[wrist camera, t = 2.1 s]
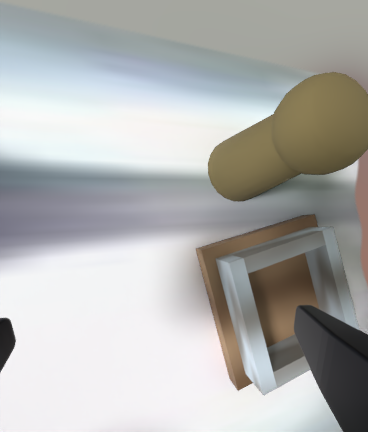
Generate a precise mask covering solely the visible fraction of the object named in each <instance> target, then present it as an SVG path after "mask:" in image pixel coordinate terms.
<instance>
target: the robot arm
mask: <svg viewBox="0 0 368 432" xmlns="http://www.w3.org/2000/svg"><path fill="white" fill-rule="evenodd" d="M294 332H295V335H296V338H297V340H298V342H299V344H300V347H301V349H302V351H303V353H304V356H305V358H306V360H307V362H308V365H309V367H310V369H311V371H312V374H313V376H314V378H315V380H316V382H317V384H318V386H319V388H320V390H321V392H322V394H323V396H324V398H325V400H326V402H327V403H328V405H329V407H330V409H331V411H332V412H333V414H334V416H335V418H336V420H337V421H338V423H339V425H340V427H341V429H342V430H343V432H368V335H367V334H365V333H363V332H362V331H360V330H358V329H356V328H354V327H352V326H350V325H348V324H346V323H344V322H343V321H341V320H339V319H337V318H335V317H333V316H331V315H329V314H327V313H325V312H324V311H322V310H320V309H318V308H316V307H314V306H312V305H299V306H297V308H296V312H295V320H294ZM15 342H16V339H15V335H14V331H13V328H12V324H11V321H10V320H9V319H8V318H0V372H1V370H2V369H3V367H4V365H5V363H6V361H7V360H8V358H9V356H10V354H11V352H12V351H13V349H14V346H15Z"/></svg>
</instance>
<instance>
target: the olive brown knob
mask: <svg viewBox="0 0 368 432" xmlns="http://www.w3.org/2000/svg"><path fill="white" fill-rule="evenodd" d="M367 149H368V94H367V92H366V91H365V90H364V89H363V88H362V87H361V86H360V85H359V84H358V82H357V81H356V80H354V79H352V78H351V77H349V76H347V75H346V74H341V73H336V72H332V73H323V74H318V75H314V76H312V77H310V78H307V79H305V80H304V81H302V82H301V83H299V84H298V85H297V86H295V87H294V88H293V89H292V90H290V91H289V92H288V93H287V94H286V95H285V97H284V98H283V100H282V101H281V102H280V104H279V106H278V107H277V109H276V110H275V112H274V114H273V115H271V116H269V117H267V118H266V119H264V120H262V121H260V122H258V123H256V124H255V125H253V126H251V127H249V128H247V129H245V130H243V131H242V132H240V133H238V134H236V135H234V136H232V137H231V138H229V139H227V140H225V141H223V142H222V143H220V144H219V145H218V146H216V147H215V149H214V150H213V152H212V153H211V155H210V159H209V162H208V174H209V177H210V180H211V183H212V185H213V186H214V188H215V189H216V191H217V192H218V193H219V194H221V195H222V196H223V197H225V198H227V199H229V200H232V201H245V200H248V199H251V198H253V197H255V196H257V195H259V194H261V193H263V192H265V191H267V190H269V189H271V188H273V187H275V186H277V185H279V184H281V183H283V182H285V181H287V180H289V179H291V178H293V177H295V176H297V175H299V174H301V173H302V174H312V175H325V174H329V173H333V172H336V171H338V170H341V169H344V168H346V167H348V166H349V165H351V164H353V163H354V162H355V161H356V160H357V159H359V158H360V157H361V156H362V155H363V154H364V152H365V151H366V150H367Z"/></svg>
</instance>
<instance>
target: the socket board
mask: <svg viewBox="0 0 368 432" xmlns="http://www.w3.org/2000/svg"><path fill="white" fill-rule="evenodd" d="M196 251H197V255H198V259H199V263H200V267H201V271H202V274H203V278H204V282H205V286H206V290H207V294H208V297H209V301H210V305H211V309H212V313H213V316H214V320H215V324H216V328H217V332H218V336H219V339H220V343H221V347H222V351H223V355H224V358H225V362H226V366H227V370H228V374H229V378H230V380H231V381H232V383H233V384H234V385H235V387H236V388H237V390H240V389H242V388H244V387H246V386H248V385H250V384H252V383H254V385H255V386H256V387H257V388H258V389H259V391H260V392H261V393H262V394H263V395H266V394H267V393H269V392H271V391H273V390H275V389H276V388H278V387H280V386H282V385H284V384H285V383H287V382H289V381H291V380H293V379H294V378H296V377H298V376H300V375H302V374H303V373H305V372H307V371H309V370H311V369H310V367H309V365H308V362H307V360H306V358H305V356H304V353H303V351H302V349H301V347H300V344H299V342H298V340H297V338H296V335H295V332H294V320H295V312H296V308H297V306H299V305H312V306H314V307H316V308H318V309H320V310H322V311H324V312H325V313H327V314H329V315H331V316H333V317H335V318H337V319H339V320H341V321H343V322H344V323H346V324H348V325H350V326H352V327H354V328H356V329H358V330H359V327H358V323H357V319H356V315H355V311H354V307H353V303H352V299H351V295H350V291H349V287H348V283H347V279H346V275H345V271H344V268H343V264H342V260H341V256H340V252H339V248H338V244H337V240H336V236H335V232H334V228H333V227H318V225H317V221H316V217H315V215H302V216H299V217H296V218H293V219H290V220H286V221H283V222H280V223H277V224H274V225H270V226H267V227H264V228H261V229H258V230H254V231H251V232H248V233H245V234H242V235H238V236H235V237H232V238H229V239H226V240H222V241H219V242H216V243H213V244H210V245H206V246H203V247H200V248H197V249H196Z"/></svg>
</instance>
